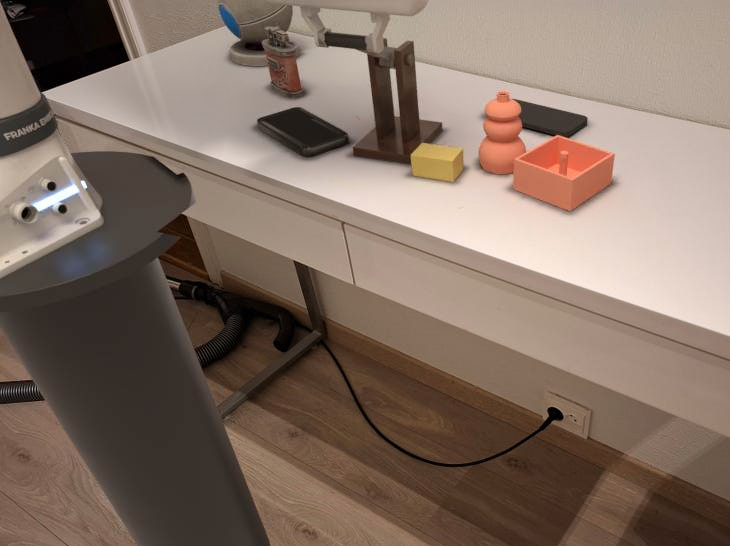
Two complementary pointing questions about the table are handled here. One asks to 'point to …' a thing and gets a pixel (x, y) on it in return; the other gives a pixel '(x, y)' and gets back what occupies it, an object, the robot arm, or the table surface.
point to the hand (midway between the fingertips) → (350, 48)
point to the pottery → (542, 159)
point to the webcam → (253, 27)
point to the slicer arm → (361, 47)
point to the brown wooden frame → (392, 132)
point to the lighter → (282, 63)
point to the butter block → (437, 162)
